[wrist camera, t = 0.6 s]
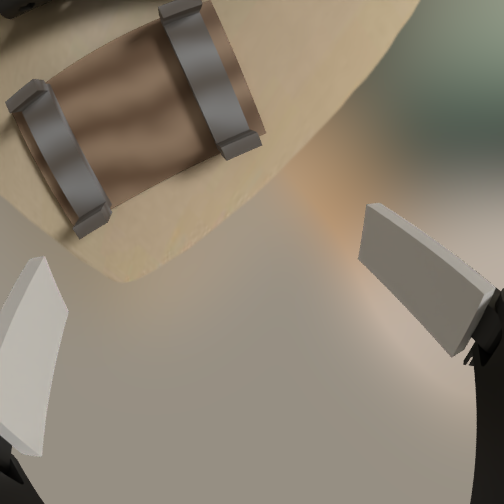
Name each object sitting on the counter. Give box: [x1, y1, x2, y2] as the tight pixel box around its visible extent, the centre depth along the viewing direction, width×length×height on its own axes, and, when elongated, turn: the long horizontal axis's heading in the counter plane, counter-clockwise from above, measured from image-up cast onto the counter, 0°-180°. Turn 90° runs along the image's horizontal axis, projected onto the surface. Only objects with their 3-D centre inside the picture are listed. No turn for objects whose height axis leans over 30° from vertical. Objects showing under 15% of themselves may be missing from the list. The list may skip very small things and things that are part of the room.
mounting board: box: [5, 0, 266, 239], centre depth 27 cm, size 18×26×6 cm
